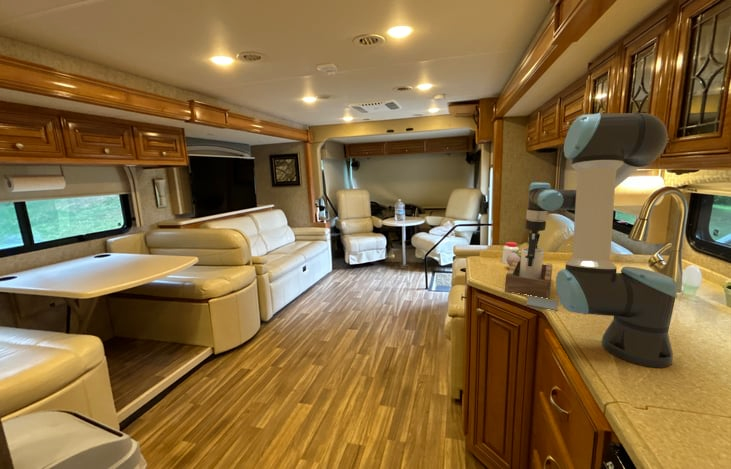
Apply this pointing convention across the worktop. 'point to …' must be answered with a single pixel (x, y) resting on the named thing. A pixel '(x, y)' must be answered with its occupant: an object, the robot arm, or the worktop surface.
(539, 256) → the cup
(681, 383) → the worktop surface
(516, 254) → the decorative fruit
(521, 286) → the crate
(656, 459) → the worktop surface
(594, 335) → the worktop surface
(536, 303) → the panel
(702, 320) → the worktop surface
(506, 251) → the pill bottle
